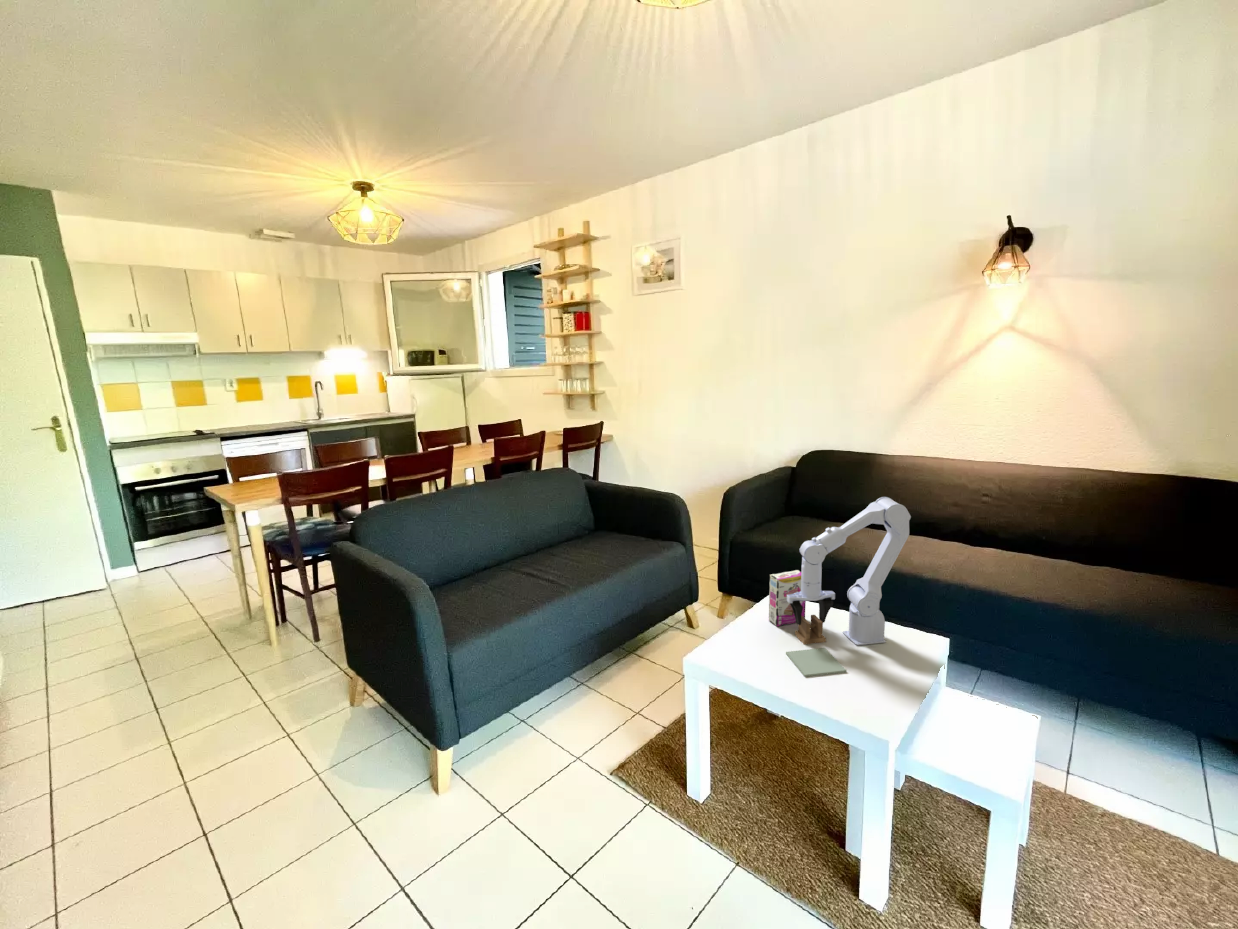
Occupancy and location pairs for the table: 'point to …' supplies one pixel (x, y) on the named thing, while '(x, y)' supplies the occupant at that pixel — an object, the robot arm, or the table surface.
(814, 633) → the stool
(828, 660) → the mat
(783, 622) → the candy bar box
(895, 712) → the table surface
